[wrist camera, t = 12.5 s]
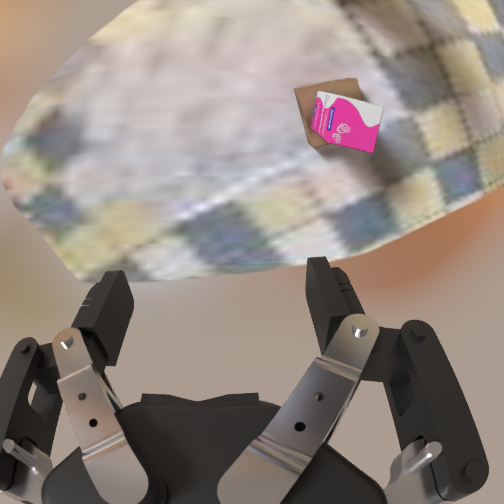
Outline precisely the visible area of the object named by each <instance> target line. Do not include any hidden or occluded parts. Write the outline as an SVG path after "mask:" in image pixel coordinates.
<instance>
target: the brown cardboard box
mask: <svg viewBox="0 0 504 504" xmlns="http://www.w3.org/2000/svg"><path fill="white" fill-rule="evenodd" d="M317 91H322V92H327V93H332V94H336V95H341V96H345V97H349V98H353V99H357V100H361V101H362V99H361V95H360V90H359V86H358V81H357V78H346V79H340V80H334V81H328V82H323V83H318V84H313V85H308V86H303V87H298V88H294V92H295V95H296V99H297V102H298V106H299V110H300V113H301V117H302V121H303V125H304V129H305V133H306V137H307V141H308V143H309V144H310V145H311V146H312V147H317V146H322V145H326V144H330V143H328V142H327V141H326V140H325V139H323V138H322V137H321V136H320V135H319V134H318V133H317V132H316V131H314V130H313V129H312V128H311V122H312V118H313V113H314V108H315V102H316V95H317Z"/></svg>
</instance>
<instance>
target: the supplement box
mask: <svg viewBox="0 0 504 504" xmlns="http://www.w3.org/2000/svg"><path fill="white" fill-rule="evenodd" d="M383 109H384V108H383V107H381V106H378V105H375V104H371V103H368V102H364V101H361V100H357V99H353V98H349V97H345V96H341V95H336V94H332V93H327V92H322V91H317V95H316V102H315V108H314V113H313V118H312V122H311V128H312V129H313V130H314V131H316V132H317V133H318V134H319V135H320V136H321V137H322V138H323V139H325V140H326V141H327V142H328V143H332V144H336V145H340V146H345V147H349V148H353V149H357V150H361V151H365V152H368V153H373V151H374V148H375V144H376V140H377V136H378V132H379V127H380V123H381V118H382V114H383Z"/></svg>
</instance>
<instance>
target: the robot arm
mask: <svg viewBox="0 0 504 504" xmlns="http://www.w3.org/2000/svg"><path fill="white" fill-rule="evenodd" d="M306 299H307V303H308V307H309V310H310V313H311V317H312V321H313V325H314V328H315V332H316V336H317V339H318V343H319V347H320V350H321V355H322V356H321V357H320V358H318V357H317V358H315V360H314V361H313V362H312V364H311V365H310V367H309V368H308V370H307V371H306V373H305V374H304V376H303V377H302V379H301V380H300V382H299V383H298V385H297V386H296V387H295V389H294V390H293V392H292V393H291V395H290V396H289V398H288V399H287V400H286V402H285V403H284V404H283V406H282V407H280V406H278V405H275V404H273V403H269V402H265V401H259V396H258V393H244V394H227V395H224V396H220V397H216V398H211V399H207V400H203V401H192V400H188V399H184V398H180V397H176V396H172V395H165V394H142V397H141V402H137V403H134V404H131V405H128V406H126V407H123V405H122V404H121V402H120V400H119V398H118V396H117V395H116V393H115V391H114V389H113V387H112V385H111V383H110V381H109V379H108V377H107V375H106V373H105V372H104V369H105V366H116V363H117V359H118V356H119V353H120V350H121V346H122V343H123V340H124V337H125V334H126V331H127V328H128V325H129V321H130V318H131V316H132V313H133V309H134V300H133V296H132V293H131V290H130V287H129V285H128V282H127V279H126V276H125V273H124V272H123V271H122V270H117V271H106V272H105V274H104V276H103V278H102V279H101V281H100V283H96V284H95V285H94V286H93V287H92V288H91V289H90V290H89V292H88V294H87V296H86V300H84V302H83V304H82V306H81V308H80V310H79V311H78V314H77V315H76V317H75V319H74V322H73V324H72V326H71V328H66V329H64V330H62V331H60V332H59V333H58V334H57V335H56V336H55V337H54V339H53V342H52V343H48V344H44V345H39V344H38V343H37V341H36V340H35V339H34V338H32V337H27V338H24V339H22V340H20V341H19V342H18V343H17V344H16V346H15V347H14V349H13V351H12V353H11V355H10V358H9V360H8V362H7V364H6V367H5V369H4V371H3V373H2V376H1V378H0V492H1V493H3V494H4V495H6V496H8V497H10V498H13V499H15V500H17V501H21V502H23V503H25V504H451V503H453V502H455V501H457V500H459V499H462V498H464V497H466V496H468V495H470V494H472V493H474V492H476V491H477V490H479V489H480V488H481V487H482V486H483V485H484V484H485V482H486V480H487V478H488V474H489V465H488V461H487V458H486V455H485V451H484V449H483V445H482V442H481V439H480V436H479V434H478V431H477V428H476V425H475V422H474V420H473V417H472V414H471V412H470V409H469V407H468V404H467V401H466V399H465V397H464V394H463V392H462V389H461V387H460V385H459V382H458V380H457V378H456V376H455V373H454V371H453V369H452V367H451V365H450V362H449V360H448V358H447V356H446V354H445V352H444V350H443V348H442V346H441V344H440V342H439V340H438V337H437V336H436V334H435V332H434V330H433V328H432V327H431V326H430V325H429V324H427V323H426V322H423V321H420V320H410V321H407V322H406V323H404V325H403V326H402V328H401V329H392V328H384V327H380V326H378V323H377V322H376V321H375V320H374V319H373V318H371V317H370V316H367V315H365V312H364V310H363V308H362V306H361V304H360V302H359V300H358V298H357V295H356V293H355V291H354V289H353V287H352V285H351V284H350V280H349V278H348V276H347V275H346V273H345V272H343V271H342V270H341V269H340V268H339V267H334V268H331V267H330V265H329V263H328V260H327V258H326V257H325V256H324V257H311V258H308V259H307V272H306ZM361 380H366V381H377V382H383V384H384V388H385V391H386V395H387V398H388V402H389V405H390V409H391V413H392V416H393V420H394V424H395V427H396V431H397V435H398V439H399V444H400V448H401V453H400V454H399V455H398V456H397V457H396V458H395V459H394V460H393V462H392V464H391V468H390V481H389V483H388V485H387V486H386V488H385V489H382V488H381V487H380V485H379V484H378V483H377V482H376V481H375V480H373V479H372V478H371V477H369V476H368V475H367V474H365V473H364V472H363V471H361V470H360V469H359V468H357V467H356V466H355V465H354V464H352V463H351V462H350V461H348V460H347V459H346V458H345V457H343V456H342V455H341V454H340V453H338V452H337V451H336V450H335V449H333V448H332V447H331V446H330V445H328V443H329V441H330V439H331V438H332V436H333V434H334V432H335V431H336V429H337V427H338V425H339V423H340V421H341V419H342V417H343V415H344V413H345V411H346V410H347V408H348V406H349V404H350V402H351V400H352V398H353V396H354V394H355V392H356V390H357V388H358V386H359V384H360V382H361ZM33 382H34V383H35V385H36V386H37V388H36V391H35V394H34V397H33V400H32V403H31V406H30V405H29V402H28V394H29V391H30V388H31V385H32V383H33ZM62 403H64V406H65V409H66V412H67V414H68V417H69V420H70V423H71V425H72V428H73V430H74V433H75V436H76V438H77V440H78V443H79V445H80V446H79V447H78V448H77V449H75V450H74V451H73V452H72V453H71V454H70V455H69V456H68V457H66V458H65V459H64V460H63V461H62V462H61V463H60V464H59V465H57V466H56V467H55V468H54V469H53V465H52V462H51V459H50V454H51V449H52V444H53V440H54V435H55V431H56V426H57V422H58V419H59V415H60V411H61V407H62Z"/></svg>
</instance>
